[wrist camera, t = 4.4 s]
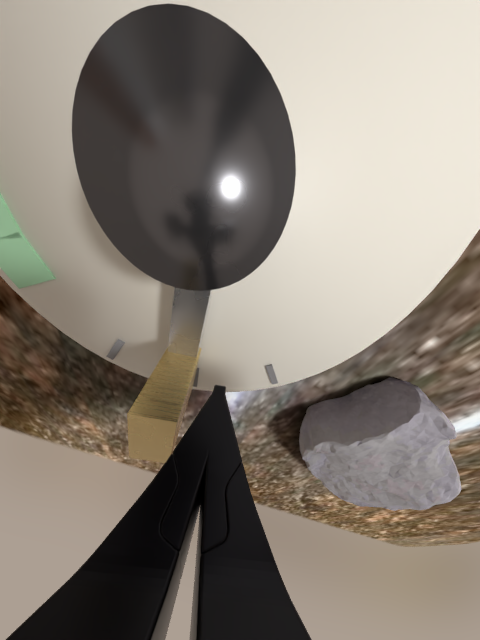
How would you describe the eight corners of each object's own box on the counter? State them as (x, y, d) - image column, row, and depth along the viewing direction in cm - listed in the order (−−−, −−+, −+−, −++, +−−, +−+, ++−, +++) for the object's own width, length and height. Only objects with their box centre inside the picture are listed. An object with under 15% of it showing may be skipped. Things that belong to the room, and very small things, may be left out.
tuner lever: (149, 87, 5) (-74, -234, 1) (293, 144, 5) (384, 8, 2) (142, 385, 11) (94, 462, 7) (212, 399, 11) (198, 477, 8)
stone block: (322, 450, 21) (432, 447, 17) (330, 507, 17) (478, 523, 13) (277, 387, 16) (412, 361, 12) (275, 445, 13) (474, 437, 8)
